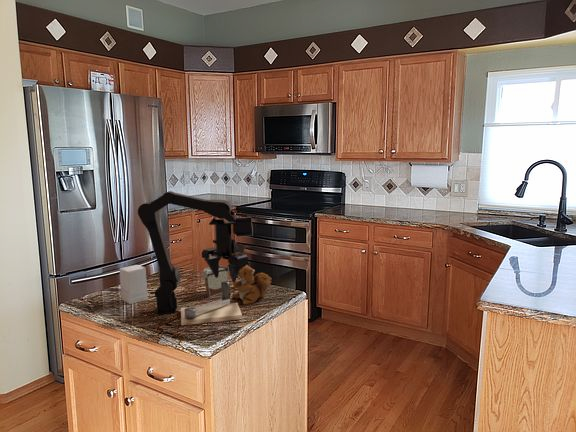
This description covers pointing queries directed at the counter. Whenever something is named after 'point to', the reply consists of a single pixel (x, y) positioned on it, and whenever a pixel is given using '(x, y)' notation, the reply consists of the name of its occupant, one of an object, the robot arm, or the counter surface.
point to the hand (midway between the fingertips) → (225, 279)
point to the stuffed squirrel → (251, 285)
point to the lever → (211, 303)
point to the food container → (215, 280)
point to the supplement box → (133, 284)
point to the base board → (214, 315)
